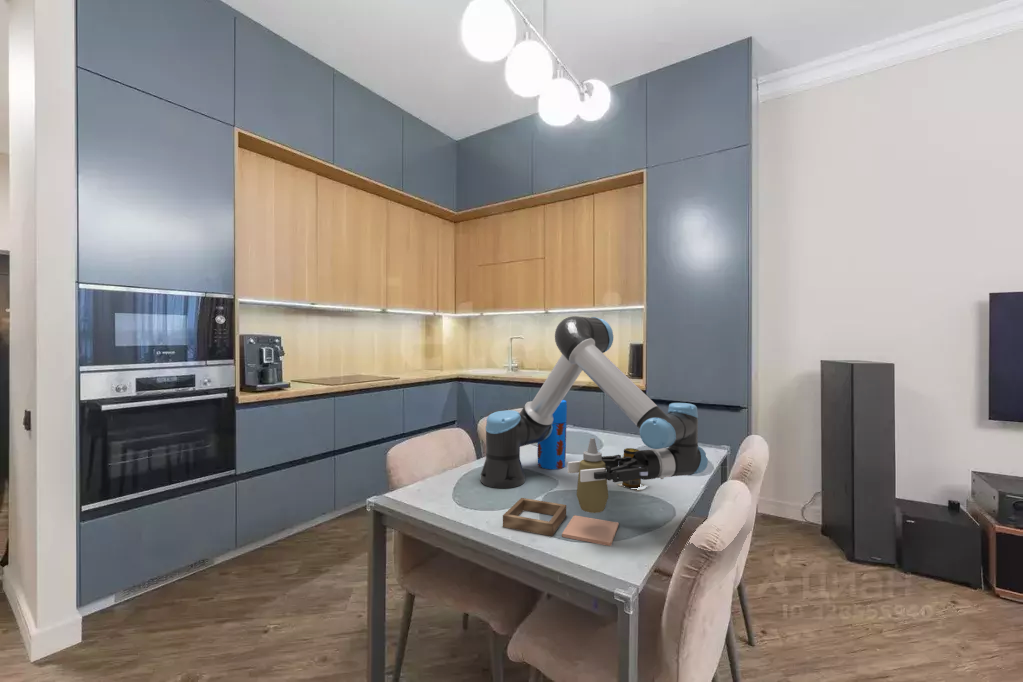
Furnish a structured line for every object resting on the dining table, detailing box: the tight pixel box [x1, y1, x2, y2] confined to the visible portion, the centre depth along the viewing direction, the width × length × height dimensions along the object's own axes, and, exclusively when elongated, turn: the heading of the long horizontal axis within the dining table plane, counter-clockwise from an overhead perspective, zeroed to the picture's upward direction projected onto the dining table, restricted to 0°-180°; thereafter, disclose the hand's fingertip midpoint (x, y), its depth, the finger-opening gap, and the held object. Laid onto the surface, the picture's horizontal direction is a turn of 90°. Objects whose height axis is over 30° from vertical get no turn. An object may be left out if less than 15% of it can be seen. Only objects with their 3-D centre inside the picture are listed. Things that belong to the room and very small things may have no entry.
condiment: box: [616, 447, 642, 492], centre depth 143 cm, size 7×8×12 cm
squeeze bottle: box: [576, 437, 609, 514], centre depth 109 cm, size 8×8×18 cm
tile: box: [561, 514, 620, 547], centre depth 109 cm, size 12×12×1 cm
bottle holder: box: [502, 497, 567, 537], centre depth 115 cm, size 13×13×3 cm
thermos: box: [537, 399, 568, 470], centre depth 165 cm, size 11×11×25 cm
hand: (574, 471), depth 107 cm, fingers closed on squeeze bottle, 6 cm apart
